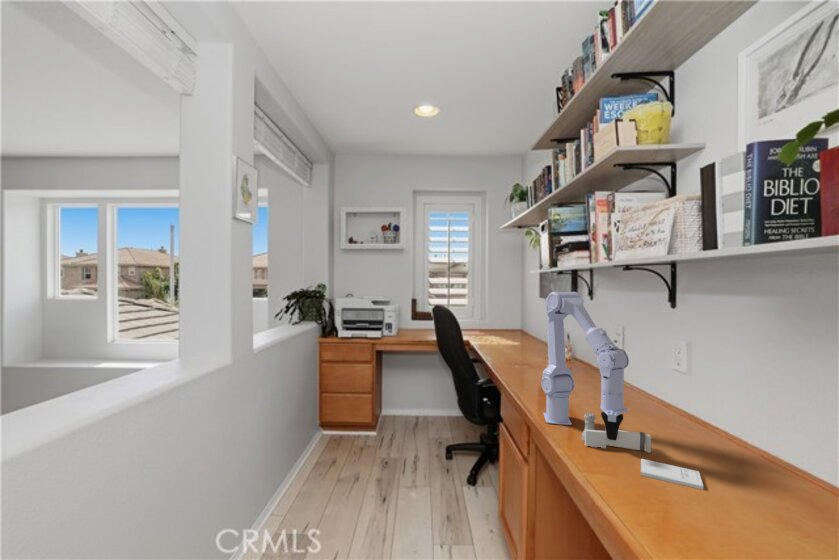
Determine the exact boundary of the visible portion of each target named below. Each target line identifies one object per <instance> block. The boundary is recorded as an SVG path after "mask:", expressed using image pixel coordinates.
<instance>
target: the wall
mask: <svg viewBox="0 0 839 560" xmlns="http://www.w3.org/2000/svg"><path fill="white" fill-rule="evenodd" d="M584 429H585V428H584ZM584 446H585V447H586V446H591V447H590V448H597V447H601V448H600V449H607V445H606V430H597V429H596V430H595V429H594V430H588V429H585V442H584ZM645 452H646V453H649V454H651V452H652V436H651V435H650V434H647V433H646V434H645Z"/></svg>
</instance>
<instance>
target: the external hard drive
mask: <svg viewBox="0 0 839 560" xmlns="http://www.w3.org/2000/svg"><path fill="white" fill-rule="evenodd" d="M641 475H643V476H642V477H646V478H650V479H655V480H660V481H663V482H667V483H671V484H676V485H681V486H686V487H690V488H694V489H698V490H702V491H704V484H703V480H702V477H701V473H700V471H699V470H694V469H690V468H686V467H681V466H678V465H672V464H667V463H663V462H658V461H653V460H650V459H645V458H641V459H640V476H641Z"/></svg>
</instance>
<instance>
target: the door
mask: <svg viewBox="0 0 839 560" xmlns="http://www.w3.org/2000/svg"><path fill="white" fill-rule="evenodd" d="M606 446H611V447H614V448H615V447H617V448H624V449H629V450H635V451H636V450H637V451H643V452H644V451H645V432H643V431H640V432H637V431H627V430H622V429H621V430H620V429H618V434H617V439H616V441H615V440H609V439H608V438H607V433H606ZM645 452H646V451H645Z"/></svg>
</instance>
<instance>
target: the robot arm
mask: <svg viewBox="0 0 839 560" xmlns="http://www.w3.org/2000/svg"><path fill="white" fill-rule="evenodd" d="M545 307H546V308H545V309H546V310H545V311H546V328H547V329H546V331H547V346H548V347H547V349H548V352H547V353H548V366H547V367H546V368H544V369H543V371H542V378H541V383H540V384H541V388H542V391H543V392H544V394H545V397H546V399H545V400H546V401H545V403H546V406H545V408H546V410H545V411H546V412H543V416H544V420H545V422H546V424H550V425H551V424H552V425H554V424H555V425H565V426H571V425H572V422H571V420H570V417H569V415H570V412H569V410H570V396H571V394H572V393H573V392H574V390H575V386H576V385H575V384H576V383H575V380H574V377H573V372H572V370H571V369H570V368H569V367H568V366H567V362H566V360H567V359H566V346H565V345H566V344H565V342H566V341H565V326H564V325H565V324H564V320H565V318H567V317H568V316H569V315H570V316H572V318H574V320H575V321H576V322H577V323H578V325H579V326H580V327H581V328H582V330H583V331H584V332H585V333H586V334H585V340H586V342H587V343H588V345H589V346H590V347H591V349H592V350H593V351H594V353H595V355H596V356H597V357H596V363H597V366H598V368H599V373H600V376H601V380H600V381H601V385H600V387H601V388H600V393H601V394H600V397H601V399H600V400H601V401H600V410H602V411H601V412H600V413H601V414H600V416H601V419H602V420H603V423H604V425H605V432H606V433H607V438H608V439H609V440H615V441H616V439H617V434H618V430H620V425H621V424H622V422H623V421H624V414H623V413H628V412H629V408H627V407H624V393H625V392H624V390H625V389H624V387H625V386H624V382H625V381H624V379H625V369H626V368H627V367H628V366H629V364H630V360H629V356H628V353H627V352H626V351H625V350H624V349H622V348H619V347H618V346H616V344H614V342H613V341H612V339H611V338H610V336H609V335H608V334H607V331H606V329H603V328H601V327H597V326H596V324H595V323H594V321H593V319H592V318H591V316H590V314H589V312H588V311H587V309H586V308H585V305H584V299H583V298H582V296H581V295H580V293H579V292H576V291H570V292H569V291H566V292H564V291H561V292H559V291H552V292H550V293H549V295H547V297H546V298H545Z"/></svg>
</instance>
